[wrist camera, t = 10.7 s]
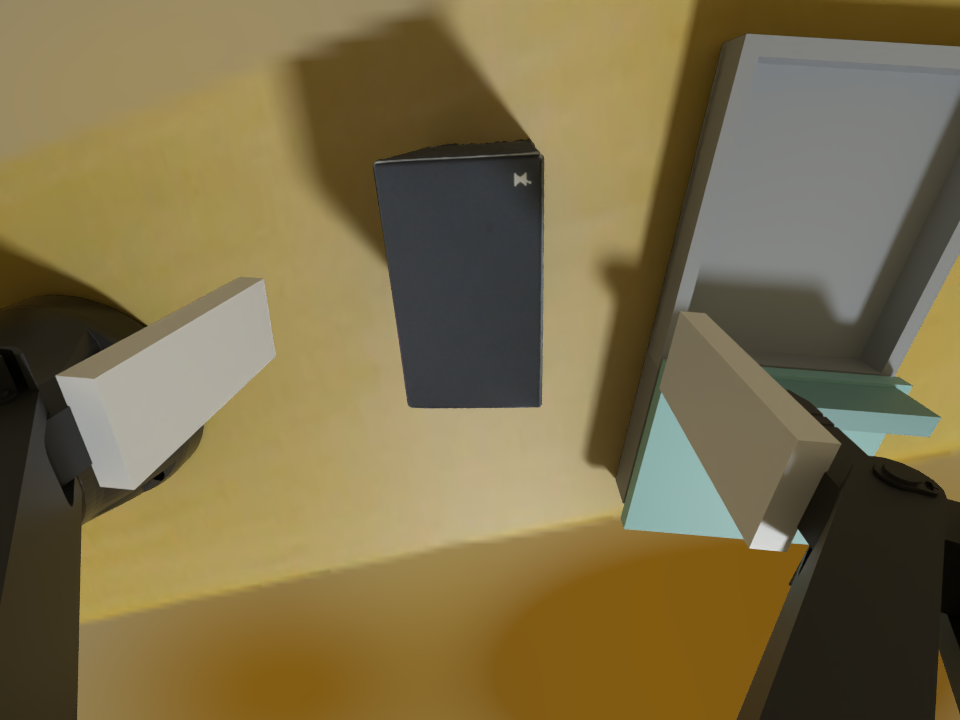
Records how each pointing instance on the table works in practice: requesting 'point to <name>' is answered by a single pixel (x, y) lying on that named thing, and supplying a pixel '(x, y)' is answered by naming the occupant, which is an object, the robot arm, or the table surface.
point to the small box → (466, 271)
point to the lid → (686, 485)
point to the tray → (815, 207)
